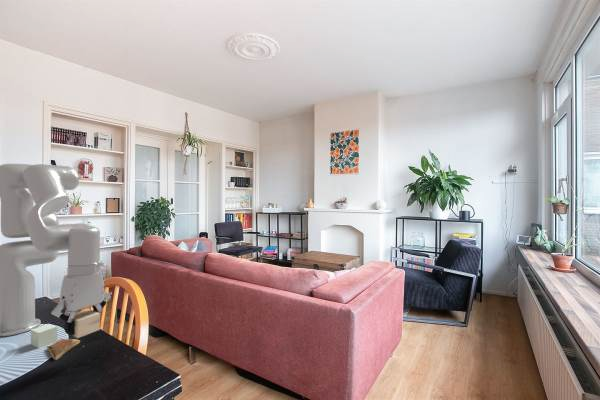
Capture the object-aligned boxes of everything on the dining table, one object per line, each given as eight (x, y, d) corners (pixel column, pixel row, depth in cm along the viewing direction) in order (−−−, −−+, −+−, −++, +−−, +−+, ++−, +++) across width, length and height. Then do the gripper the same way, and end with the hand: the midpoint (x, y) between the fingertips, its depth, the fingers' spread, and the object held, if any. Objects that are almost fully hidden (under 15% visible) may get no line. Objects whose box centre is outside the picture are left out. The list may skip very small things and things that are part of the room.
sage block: (30, 345, 95) (30, 329, 95) (49, 338, 100) (49, 323, 100) (38, 348, 93) (38, 332, 93) (57, 341, 98) (57, 326, 98)
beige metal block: (65, 333, 85) (65, 316, 85) (88, 324, 91) (88, 308, 91) (77, 338, 83) (77, 320, 83) (99, 329, 88) (100, 313, 88)
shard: (55, 362, 86) (54, 356, 86) (28, 363, 86) (28, 356, 86) (81, 343, 97) (81, 338, 97) (57, 344, 97) (57, 338, 97)
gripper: (106, 261, 96) (105, 315, 96) (41, 273, 80) (40, 338, 81) (121, 264, 92) (119, 321, 93) (56, 278, 77) (55, 346, 77)
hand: (83, 328), depth 87 cm, fingers closed on beige metal block, 6 cm apart
